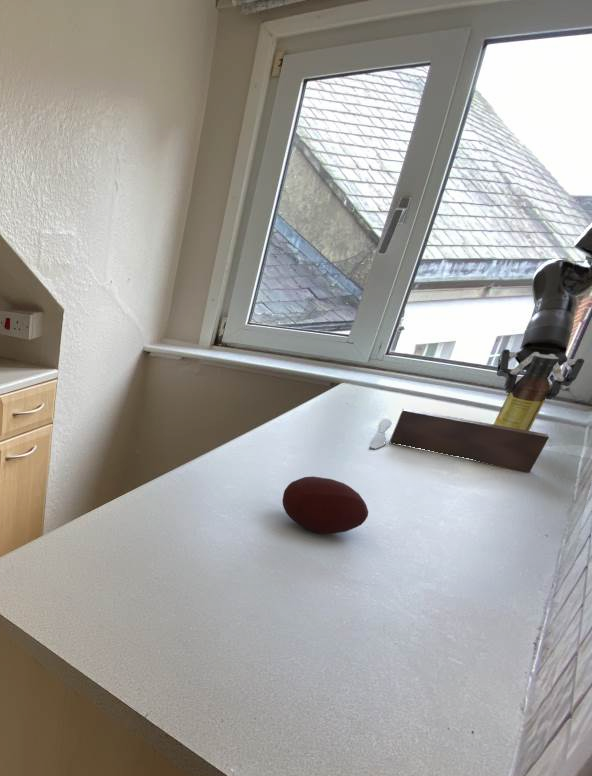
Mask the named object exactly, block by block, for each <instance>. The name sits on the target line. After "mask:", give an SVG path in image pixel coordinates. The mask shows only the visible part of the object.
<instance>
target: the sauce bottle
mask: <svg viewBox="0 0 592 776" xmlns="http://www.w3.org/2000/svg"><path fill="white" fill-rule="evenodd" d="M558 360H559V358H558V357H556V356H551V355H542V354H536V355H534V357H533V358H532V363H531V365H530V367H529V369H528V371H527V372H526V371H525V374H523V375H522V377H521V378H519V379H518V380H517V381H516V382H515V385H514V388H513V390H512V391H511V393H507V395H506V398H505V400H504V401H503V404H502V406H501V408H500V410H499V412H498V415H497V417H496V419H495V421H494V422H493V424H494V425H499V426H505V427H510V428H516V429H521V430H527V431H531V428H532V427H533V425H534V423H535V420H536V419H537V417H538V415H539V413H540V411H541V409H542V407H543V405H544V403H545V401H546V396H547V394H548V392H549V390H550V385H551V384H550V381H549V379H548V377H549V376H550V373H551V371H552V369H553V367H554V365H556V363H557V362H558Z"/></svg>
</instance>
